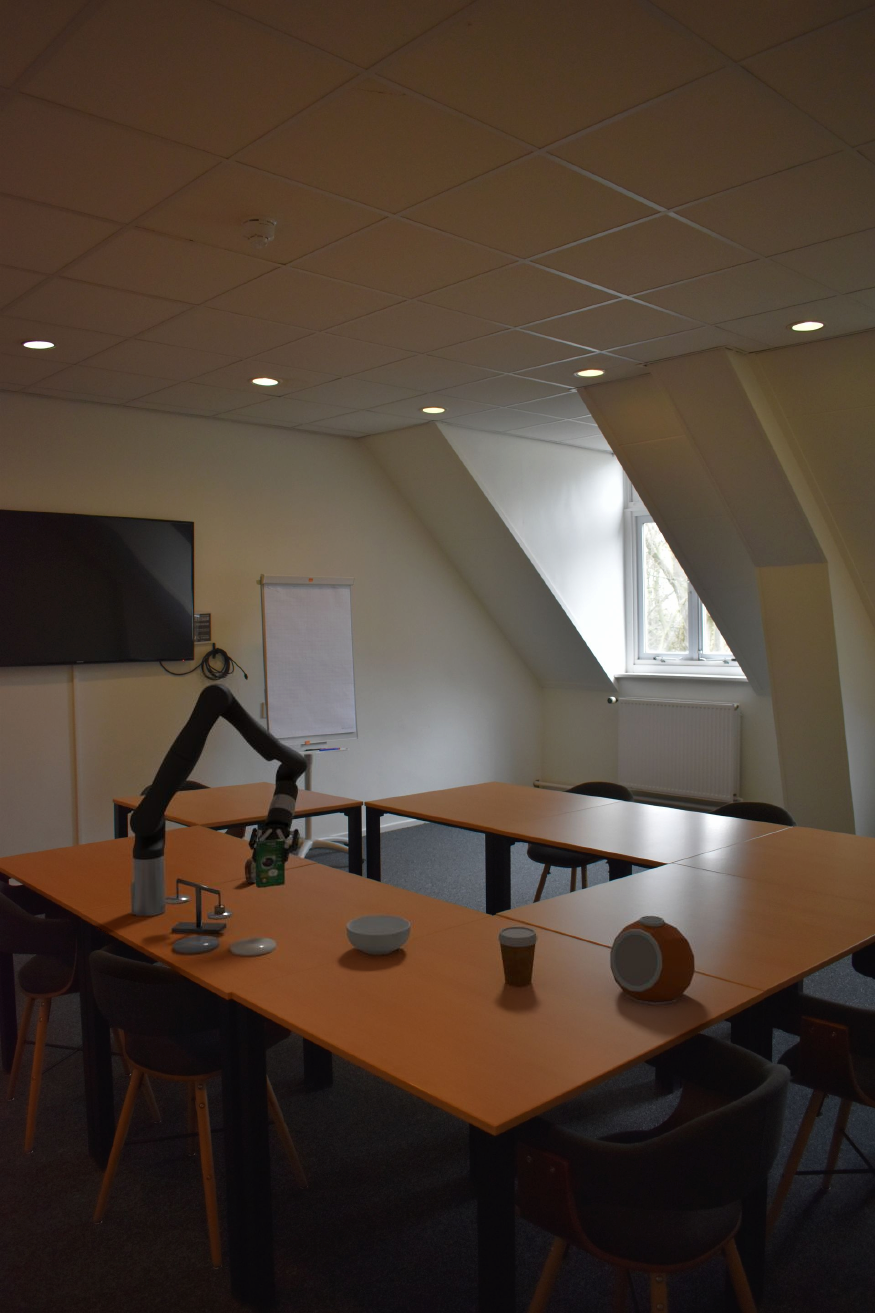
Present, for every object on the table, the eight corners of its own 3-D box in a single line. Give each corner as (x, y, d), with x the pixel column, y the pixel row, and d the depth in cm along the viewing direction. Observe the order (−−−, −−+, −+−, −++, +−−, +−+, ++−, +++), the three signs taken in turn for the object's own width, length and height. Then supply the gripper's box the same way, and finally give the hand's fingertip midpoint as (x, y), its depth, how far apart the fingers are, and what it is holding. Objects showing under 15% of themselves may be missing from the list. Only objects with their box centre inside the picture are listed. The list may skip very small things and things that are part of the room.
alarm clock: (595, 993, 217) (594, 919, 217) (637, 973, 229) (637, 903, 229) (668, 1016, 203) (667, 937, 203) (709, 994, 216) (708, 919, 215)
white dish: (223, 955, 247) (223, 951, 247) (239, 940, 259) (239, 937, 259) (267, 957, 245) (267, 953, 245) (281, 942, 257) (281, 938, 257)
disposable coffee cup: (513, 971, 232) (512, 923, 231) (545, 980, 226) (545, 930, 225) (490, 983, 224) (489, 933, 224) (523, 992, 218) (522, 941, 218)
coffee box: (282, 882, 271) (281, 837, 271) (285, 885, 268) (285, 839, 268) (255, 886, 267) (254, 840, 267) (258, 889, 265) (258, 842, 264)
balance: (161, 932, 267) (160, 881, 266) (171, 925, 274) (170, 874, 273) (227, 934, 264) (226, 882, 264) (236, 927, 271) (235, 876, 271)
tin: (252, 886, 316) (251, 861, 316) (243, 885, 317) (242, 860, 316) (268, 874, 331) (268, 850, 330) (260, 874, 331) (260, 850, 331)
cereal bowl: (353, 964, 239) (352, 936, 239) (341, 943, 255) (341, 918, 255) (417, 957, 243) (417, 930, 243) (402, 937, 259) (402, 912, 259)
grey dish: (166, 953, 249) (165, 949, 249) (184, 938, 261) (184, 935, 261) (209, 955, 248) (209, 951, 248) (225, 940, 259) (225, 936, 259)
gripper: (254, 806, 276) (241, 854, 264) (301, 806, 274) (290, 855, 262) (260, 820, 281) (248, 868, 270) (307, 821, 279) (296, 869, 268)
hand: (269, 862), depth 266 cm, fingers closed on coffee box, 8 cm apart
